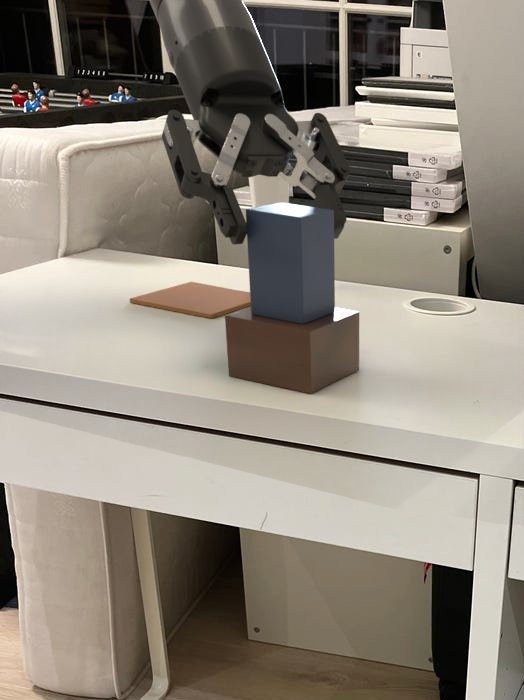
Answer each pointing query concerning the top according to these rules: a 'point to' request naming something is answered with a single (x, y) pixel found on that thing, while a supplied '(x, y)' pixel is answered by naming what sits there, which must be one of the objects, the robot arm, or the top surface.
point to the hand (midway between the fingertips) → (290, 235)
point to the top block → (291, 262)
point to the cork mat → (196, 299)
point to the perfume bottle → (268, 190)
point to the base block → (293, 349)
